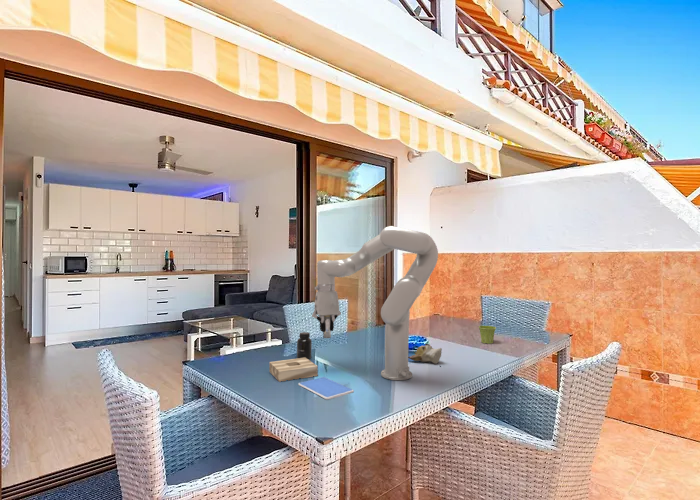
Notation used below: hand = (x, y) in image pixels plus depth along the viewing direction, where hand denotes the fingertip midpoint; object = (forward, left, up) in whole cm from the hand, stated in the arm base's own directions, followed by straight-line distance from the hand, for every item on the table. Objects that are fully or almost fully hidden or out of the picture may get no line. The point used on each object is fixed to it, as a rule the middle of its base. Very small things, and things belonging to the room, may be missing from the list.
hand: (326, 330), depth 167 cm
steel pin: (0, 0, -3) cm, 3 cm away
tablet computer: (-22, +10, -17) cm, 29 cm away
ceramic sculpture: (-11, -45, -17) cm, 49 cm away
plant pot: (+3, -100, -17) cm, 101 cm away
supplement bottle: (+18, +3, -17) cm, 25 cm away
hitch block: (-1, +15, -16) cm, 22 cm away
